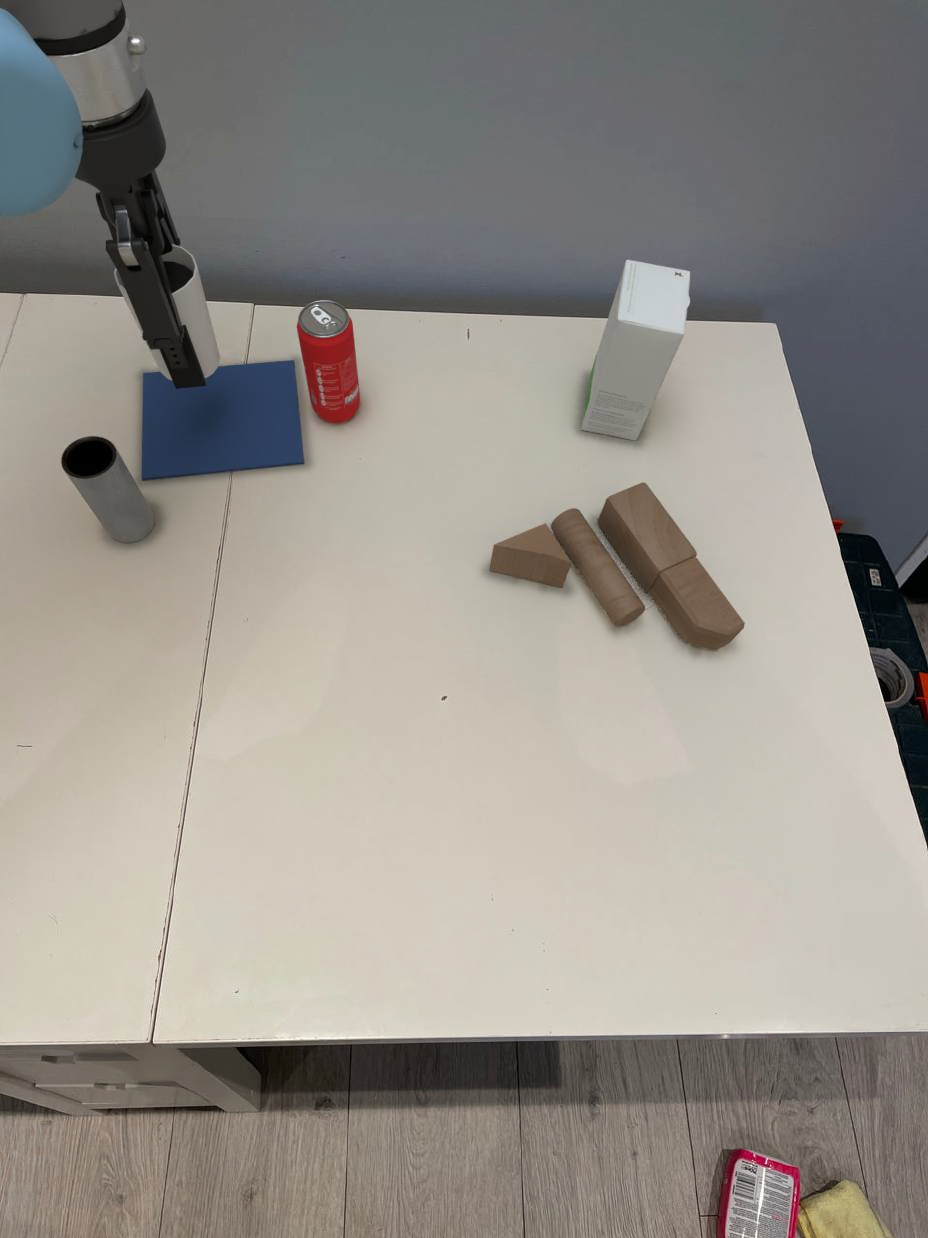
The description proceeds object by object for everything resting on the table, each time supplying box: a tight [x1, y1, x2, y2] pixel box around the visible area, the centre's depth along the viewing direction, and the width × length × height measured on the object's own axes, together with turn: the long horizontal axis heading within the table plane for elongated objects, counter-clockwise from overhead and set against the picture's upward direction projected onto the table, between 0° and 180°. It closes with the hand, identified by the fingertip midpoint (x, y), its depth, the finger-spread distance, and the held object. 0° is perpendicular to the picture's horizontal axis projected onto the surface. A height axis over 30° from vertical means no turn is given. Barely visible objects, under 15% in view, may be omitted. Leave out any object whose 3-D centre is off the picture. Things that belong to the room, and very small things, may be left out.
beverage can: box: [296, 299, 361, 425], centre depth 74 cm, size 5×5×12 cm
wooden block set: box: [488, 482, 746, 651], centre depth 68 cm, size 17×6×18 cm
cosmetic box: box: [580, 259, 691, 441], centre depth 74 cm, size 8×7×16 cm
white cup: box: [113, 244, 221, 380], centre depth 65 cm, size 7×7×10 cm
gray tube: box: [60, 435, 156, 544], centre depth 67 cm, size 4×4×10 cm
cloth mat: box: [141, 359, 305, 481], centre depth 77 cm, size 16×14×1 cm
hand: (190, 357), depth 70 cm, fingers closed on white cup, 6 cm apart
